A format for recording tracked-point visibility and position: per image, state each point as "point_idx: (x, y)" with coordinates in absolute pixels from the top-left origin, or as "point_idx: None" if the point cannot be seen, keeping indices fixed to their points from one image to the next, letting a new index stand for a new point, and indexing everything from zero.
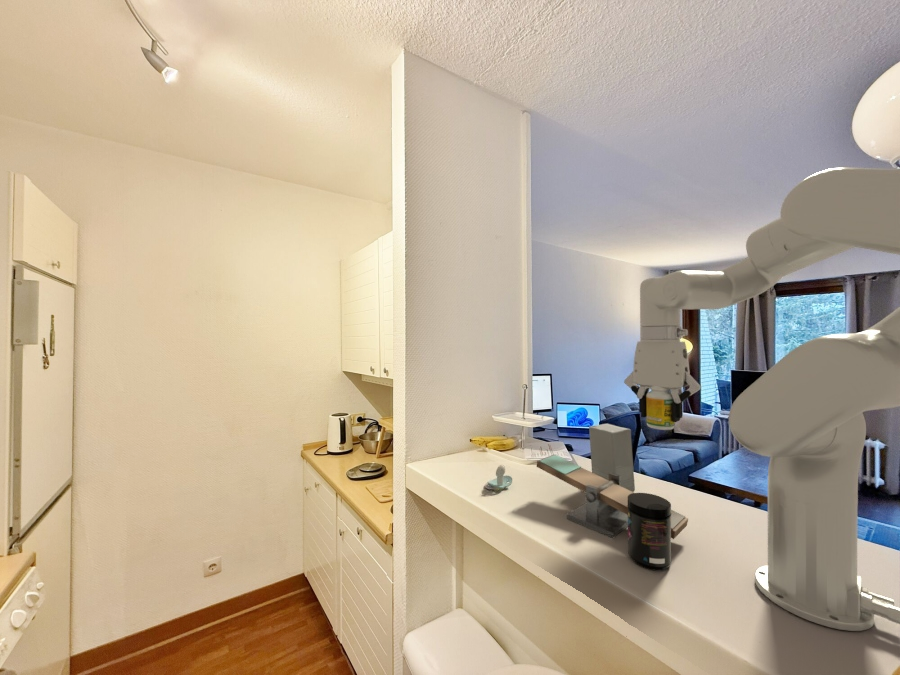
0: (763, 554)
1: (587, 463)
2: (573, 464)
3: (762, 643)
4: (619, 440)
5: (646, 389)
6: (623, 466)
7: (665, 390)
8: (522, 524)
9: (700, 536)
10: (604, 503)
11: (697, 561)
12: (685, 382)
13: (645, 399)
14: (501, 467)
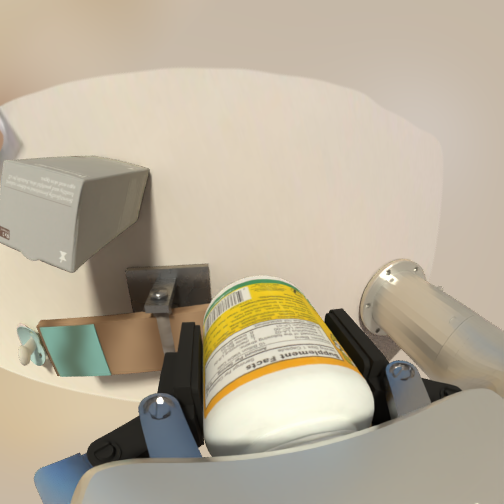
0: (364, 240)
1: (27, 112)
2: (82, 331)
3: None
4: (90, 236)
5: (181, 453)
6: (123, 209)
7: None
8: (131, 395)
9: (299, 255)
10: (151, 287)
11: None
12: (489, 401)
13: (199, 425)
14: (25, 362)
